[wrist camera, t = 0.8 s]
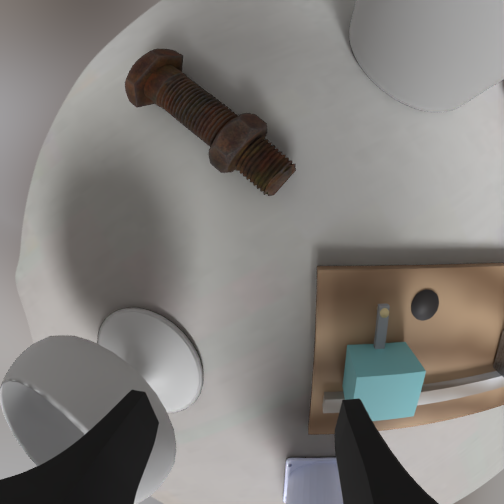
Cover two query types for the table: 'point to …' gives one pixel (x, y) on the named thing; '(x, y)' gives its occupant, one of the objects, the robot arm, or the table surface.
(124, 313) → the chalice
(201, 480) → the table surface
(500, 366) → the fixed leg
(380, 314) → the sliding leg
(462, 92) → the cylinder vase
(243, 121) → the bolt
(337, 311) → the board
